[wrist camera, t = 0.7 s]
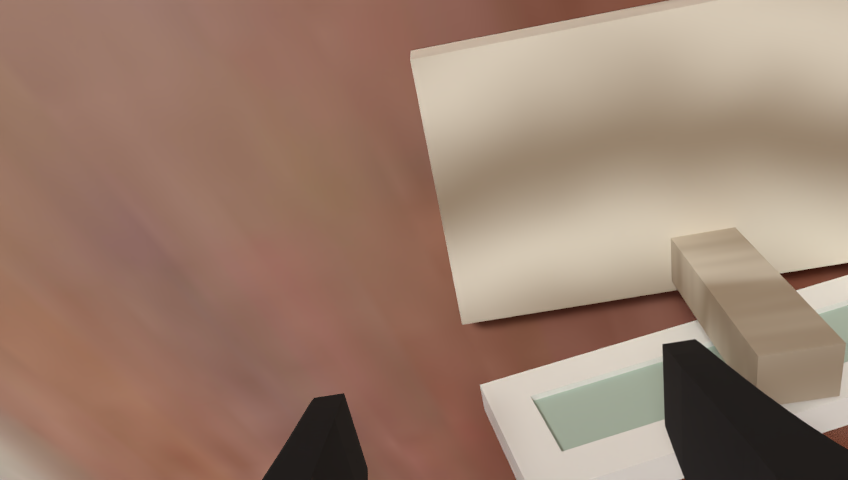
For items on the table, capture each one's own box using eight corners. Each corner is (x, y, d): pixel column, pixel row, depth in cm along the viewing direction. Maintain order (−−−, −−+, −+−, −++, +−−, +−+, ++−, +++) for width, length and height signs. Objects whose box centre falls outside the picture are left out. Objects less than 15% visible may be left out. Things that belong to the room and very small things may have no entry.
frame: (883, 303, 22) (1018, 384, 18) (487, 424, 21) (539, 541, 17) (890, 262, 22) (1031, 337, 18) (480, 384, 20) (533, 497, 16)
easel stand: (931, 228, 22) (1141, 364, 16) (460, 305, 24) (476, 460, 17) (983, -61, 18) (1295, -37, 12) (411, 50, 20) (407, 127, 13)
